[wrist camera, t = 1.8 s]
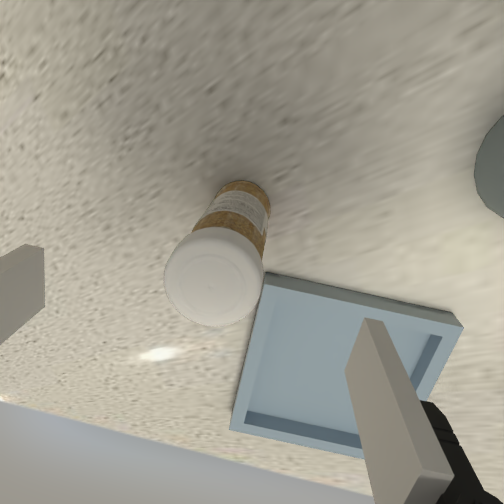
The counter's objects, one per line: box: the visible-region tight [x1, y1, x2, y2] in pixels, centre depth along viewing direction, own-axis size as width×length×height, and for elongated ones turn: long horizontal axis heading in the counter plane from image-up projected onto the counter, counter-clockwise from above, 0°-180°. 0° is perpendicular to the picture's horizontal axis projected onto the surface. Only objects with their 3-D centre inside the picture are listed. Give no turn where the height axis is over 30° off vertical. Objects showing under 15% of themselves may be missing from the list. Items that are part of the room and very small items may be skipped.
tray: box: [229, 272, 464, 459], centre depth 33 cm, size 16×16×2 cm
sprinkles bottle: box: [164, 181, 270, 327], centre depth 23 cm, size 5×5×14 cm
